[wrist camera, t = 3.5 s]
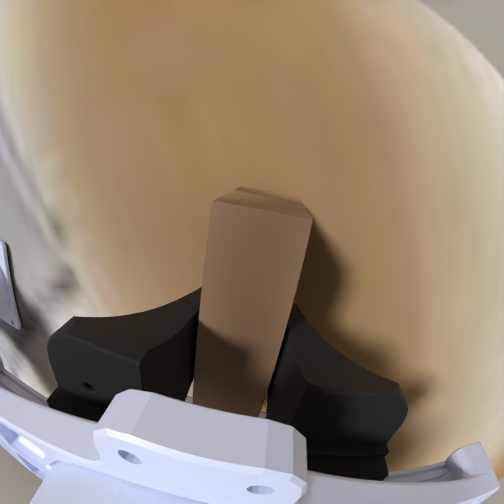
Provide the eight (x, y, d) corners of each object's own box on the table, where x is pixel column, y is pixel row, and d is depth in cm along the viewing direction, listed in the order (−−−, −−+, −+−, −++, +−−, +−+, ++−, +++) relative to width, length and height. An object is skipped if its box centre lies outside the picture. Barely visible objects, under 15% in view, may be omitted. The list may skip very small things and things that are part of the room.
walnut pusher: (213, 369, 15) (190, 438, 10) (240, 186, 12) (213, 200, 7) (257, 378, 15) (247, 450, 10) (298, 197, 11) (313, 219, 7)
